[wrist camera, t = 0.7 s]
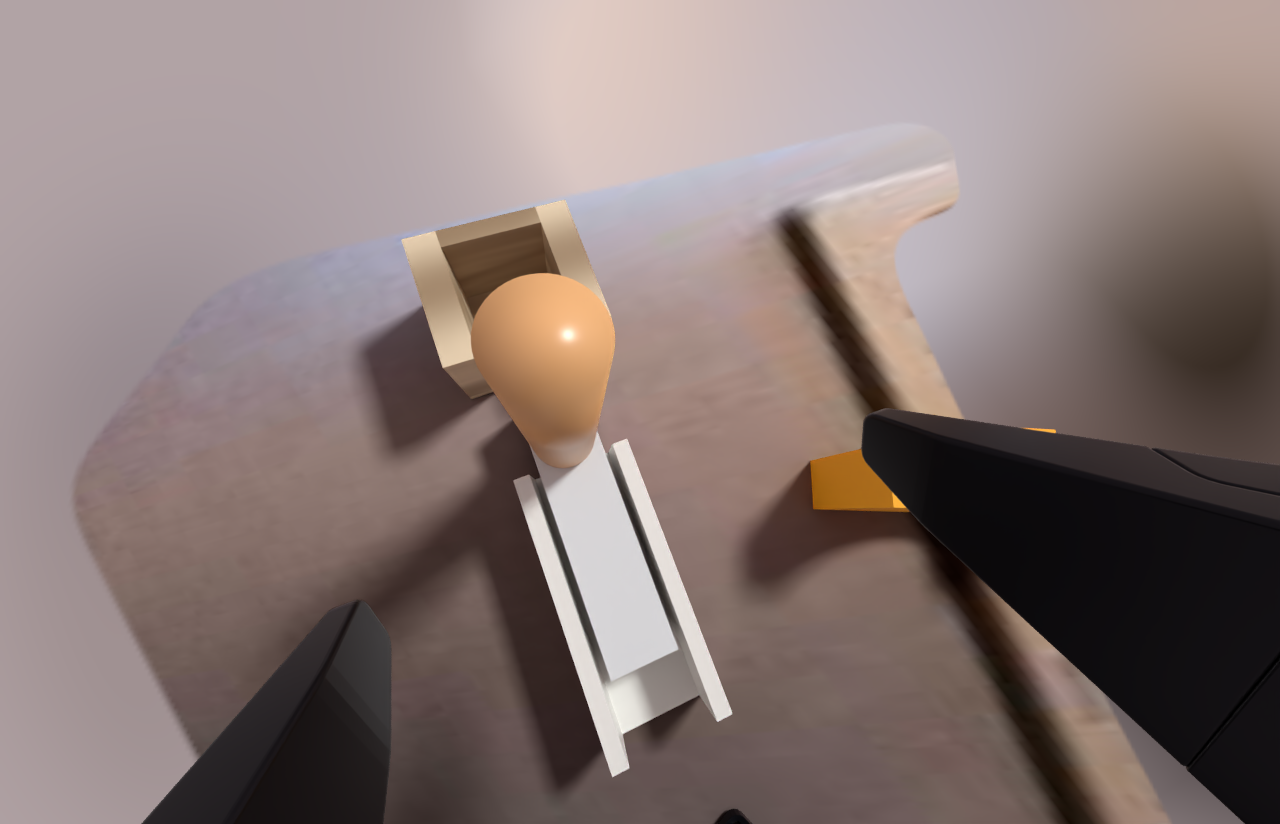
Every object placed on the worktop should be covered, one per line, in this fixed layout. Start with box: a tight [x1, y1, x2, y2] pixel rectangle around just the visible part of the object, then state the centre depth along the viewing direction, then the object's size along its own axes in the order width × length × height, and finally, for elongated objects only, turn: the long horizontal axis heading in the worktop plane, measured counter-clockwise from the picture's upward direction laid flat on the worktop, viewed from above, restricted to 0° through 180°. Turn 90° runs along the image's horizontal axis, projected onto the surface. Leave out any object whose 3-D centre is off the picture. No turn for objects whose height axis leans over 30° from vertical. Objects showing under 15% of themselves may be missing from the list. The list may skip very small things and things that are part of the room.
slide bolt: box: [471, 273, 678, 681], centre depth 15 cm, size 12×3×14 cm, turn 21°
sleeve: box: [513, 439, 732, 777], centre depth 20 cm, size 12×5×3 cm, turn 21°
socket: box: [401, 200, 611, 399], centre depth 22 cm, size 6×7×5 cm
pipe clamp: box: [810, 428, 1056, 512], centre depth 22 cm, size 12×4×6 cm, turn 88°
